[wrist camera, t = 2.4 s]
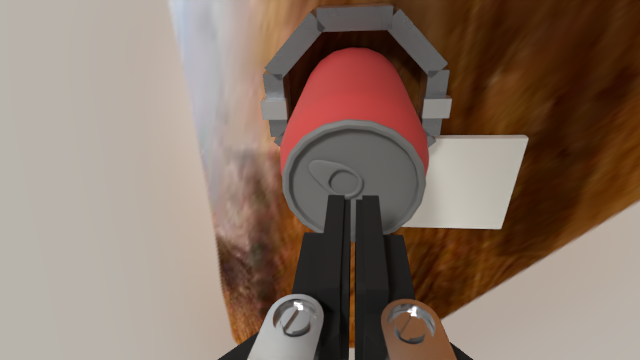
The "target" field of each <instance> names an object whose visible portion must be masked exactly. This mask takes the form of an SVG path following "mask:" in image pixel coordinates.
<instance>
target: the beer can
mask: <svg viewBox="0 0 640 360" xmlns="http://www.w3.org/2000/svg"><path fill="white" fill-rule="evenodd" d="M280 158H281V175H282V177H283V193H284V196H285V198H286V201H287V203H288V206H289V208H290V210H291V211H292V212H293V213H294V214H295V216H296V217H297V218H298V219H299V220H300V222H301V223H303V224H304V225H306V226H307V227H309V228H310V229H312V230H313V231H315V232H316V233H324V225H325V218H326V210H327V202H328V195H345V199H351V242H355V230H356V199H362V195H378V196H379V202H380V211H381V220H382V230H383V235H388V234H390V233H392V232H395V231H396V230H398V229H399V228H400V227H401V226H403V225H404V224H405V223H406V222H408V221H409V220H410V219H411V218H412V216H413V215H414V213H415V212H416V211H417V209H418V208H419V206H420V205H421V203H422V199H423V195H424V191H425V187H426V179H425V178H426V174H427V170H428V166H429V151H428V143H427V135H426V133H425V131H424V129H423V126H422V124H421V122H420V120H419V118H418V115H417V113H416V111H415V109H414V106H413V104H412V102H411V100H410V97H409V95H408V93H407V91H406V89H405V86H404V84H403V82H402V80H401V78H400V76H399V74H398V72H397V70H396V68H395V66H394V65H393V64H392V63H391V62H390V61H389V60H388V59H387V58H386V57H384V56H383V55H382V54H380V53H378V52H376V51H373V50H371V49H368V48H362V47H348V48H344V49H341V50H337V51H334V52H332V53H331V54H329V55H328V56H326V57H325V58H323V59H322V60H321V61H320V62H319V63H318V65H317V66H316V67H315V68H314V70H313V71H312V72H311V74H310V76H309V79H308V81H307V83H306V85H305V87H304V89H303V92H302V94H301V96H300V98H299V100H298V103H297V105H296V107H295V109H294V111H293V114H292V116H291V118H290V120H289V122H288V124H287V127H286V130H285V133H284V136H283V139H282V142H281V145H280Z"/></svg>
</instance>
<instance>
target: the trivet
mask: <svg viewBox="0 0 640 360" xmlns="http://www.w3.org/2000/svg"><path fill="white" fill-rule="evenodd" d="M434 138H435V140H436V142H435V143H434V144H433V145H431V146H430V147H429V148H428V151H429V166H428V170H427V174H426V178H425V179H426V187H425V191H424V195H423V199H422V203H421V205H420V206H419V208H418V209H417V211H416V212H415V213H414V215H413V216H412V218H411V219H410V220H409V221H408V222H406V223H405V224H404V225H403V226H401V227H431V228H474V229H501V228H502V224H503V221H504V218H505V215H506V211H507V208H508V205H509V201H510V198H511V195H512V192H513V188H514V185H515V182H516V179H517V175H518V172H519V169H520V165H521V162H522V159H523V156H524V152H525V149H526V146H527V142H528V139H529V138H528V137H527V136H525V135H440V136H434Z"/></svg>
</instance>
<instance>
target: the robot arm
mask: <svg viewBox="0 0 640 360" xmlns="http://www.w3.org/2000/svg"><path fill="white" fill-rule="evenodd" d="M350 253H351V199H345V195H328V202H327V210H326V218H325V225H324V233H306V232H305V233H304V236H303V241H302V246H301V251H300V256H299V261H298V265H297V270H296V275H295V280H294V285H293V290H292V295H288V296H285V297H283V298H281V299H279V300H278V301H277V302H276V303H274V304H273V305H272V307H271V308H270V310H269V312H268V314H267V316H266V318H265V320H264V323H263V325H262V327H261V329H260V331H259V332H257V333H256V334H254V335H253V336H251V337H250V338H249V339H247V340H246V341H244V342H243V343H241V344H240V345H238V346H237V347H235V348H234V349H232V350H231V351H230V352H228V353H227V354H225V355H224V356H222V357H221V358H219V359H218V360H349V315H350ZM355 360H473V359H472V358H470V357H469V356H468V355H466V354H465V353H464V352H462V351H461V350H460V349H459V348H457V347H456V346H455V345H453V344H452V343H451V342H449V340H448V337H447V335H446V333H445V330H444V328H443V326H442V323H441V321H440V319H439V318H438V316H437V314H436V313H435V312H434V311H433V310H432V309H431V308H430V307H429V306H427V305H425V304H424V303H422V302H419V301H416V300H415V295H414V290H413V284H412V279H411V274H410V268H409V263H408V258H407V252H406V247H405V242H404V237H403V235H383V230H382V220H381V211H380V202H379V196H378V195H362V199H356V230H355Z"/></svg>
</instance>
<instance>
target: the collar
mask: <svg viewBox="0 0 640 360" xmlns="http://www.w3.org/2000/svg"><path fill="white" fill-rule="evenodd" d="M366 30H387V31H388V32H389V33H390V34H391V35H392V36H393V37H394V38H395V39H396V40H397V42H398V43H399V44H400V45H401V46H402V47H403V48H404V49H405V50H406V51H407V53H408V54H409V55H410V56H411V57H412V58H413V59H414V60H415V61H416V63H417V64H418V65H419V66H420V67H421V68H422V70H421V79H420V88H419V97H418V106H417V115H418V118H419V120H420V122H421V124H422V126H423V129H424V131H425V133H426V135H427V143H428V148H429V147H430V146H431V145H433V144H434V143H435V142H436V140H435V138H434V136H440V130H441V124H442V118H449V115H450V109H451V103H452V98H451V97H450V96H449V95H446V91H447V85H448V78H449V72H450V70H449V69H448V68H447V67H446V65H447V64H448V63H447V62H446V61H445V60H444V58H443V57H442V56H441V55H440V54H439V53H438V51H437V50H436V49H435V48H434V47H433V46H432V45H431V43H430V42H429V41H428V40H427V39H426V38H425V37H424V35H423V34H422V33H421V32H420V31H419V30H418V28H417V27H416V26H415V25H414V24H413V23H412V22H411V20H410V19H409V18H408V17H407V16H406V15H405V14H404V12H403V11H402V10H401V9H400V8H399V7H397V6H395V7H394V8H393V5H392V4H391V3H373V4H349V5H325V6H319V7H318V8H317V9H316V10H315V9H313V10H312V11H311V12H310V13H309V14H308V15H307V16H306V17H305V19H304V20H303V21H302V22H301V24H300V25H299V26H298V27H297V29H296V30H295V31H294V32H293V34H292V35H291V36H290V37H289V39H288V40H287V41H286V42H285V43H284V45H283V46H282V47H281V48H280V50H279V51H278V52H277V53H276V55H275V56H274V57H273V58H272V60H271V61H270V62H269V63H268V64H267V66H266V67H265V69H266V70H267V71H266V72H265V73H264V74H263V78H264V86H265V94H266V98H263V99H262V100H261V101H260V102H261V110H262V117H263V120H269V125H270V133H271V137H276V138H275V141H274V142H275V143H276V144H277V145H278V146H280V145H281V142H282V139H283V136H284V133H285V130H286V127H287V124H288V122H289V120H290V118H291V116H292V103H291V92H290V81H289V70H290V69H291V68H292V67H293V66H294V64H295V63H296V62H297V61H298V60H299V59H300V57H301V56H302V55H303V54H304V53H305V52H306V50H307V49H308V48H309V47H310V46H311V45H312V43H313V42H314V41H315V40H316V39H317V37H318V36H319V35H320V34H321V33H322V32H336V31H366Z"/></svg>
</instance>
